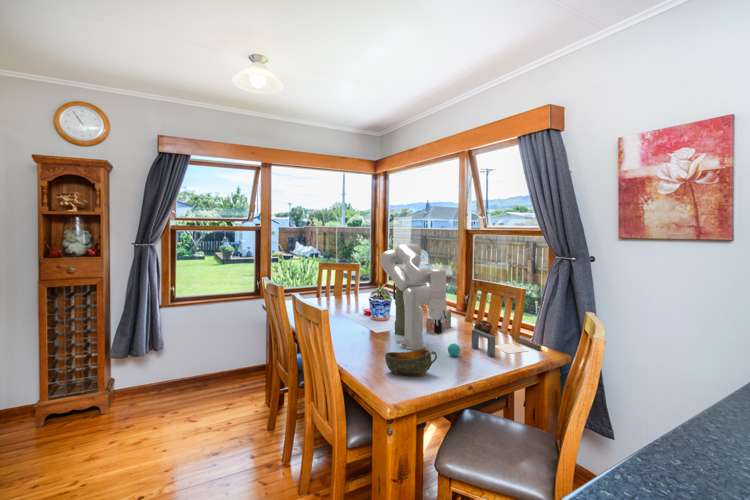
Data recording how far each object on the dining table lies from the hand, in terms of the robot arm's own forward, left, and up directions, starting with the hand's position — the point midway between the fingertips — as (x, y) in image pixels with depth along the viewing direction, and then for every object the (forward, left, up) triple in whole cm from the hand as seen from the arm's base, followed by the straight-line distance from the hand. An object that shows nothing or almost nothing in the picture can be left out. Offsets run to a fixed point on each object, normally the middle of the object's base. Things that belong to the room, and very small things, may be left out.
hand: (438, 333), depth 177 cm
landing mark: (+43, +1, -12) cm, 45 cm away
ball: (+9, +1, -9) cm, 13 cm away
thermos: (+2, +46, -13) cm, 47 cm away
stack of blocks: (+27, +45, -13) cm, 54 cm away
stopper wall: (+55, +1, -12) cm, 57 cm away
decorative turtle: (+47, +29, -13) cm, 57 cm away
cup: (-21, -12, -13) cm, 27 cm away
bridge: (+26, +1, -12) cm, 29 cm away
